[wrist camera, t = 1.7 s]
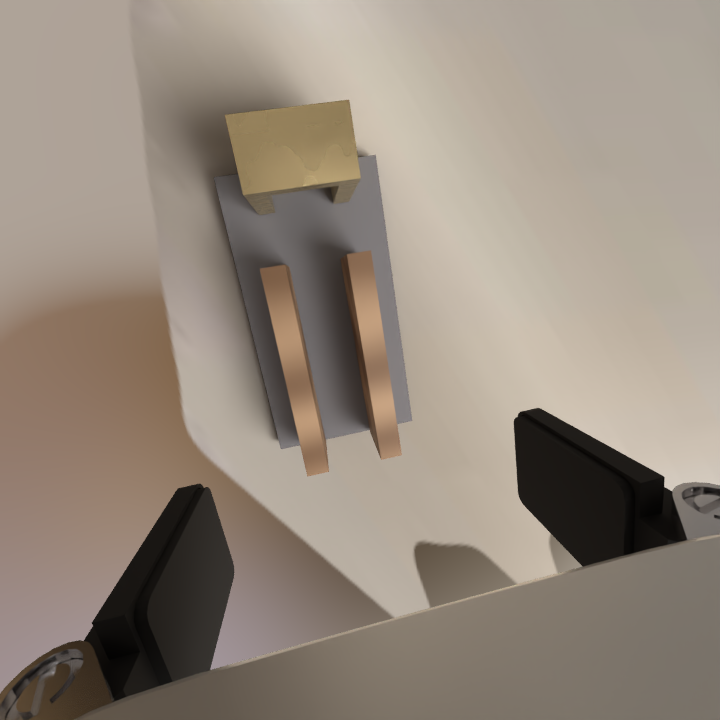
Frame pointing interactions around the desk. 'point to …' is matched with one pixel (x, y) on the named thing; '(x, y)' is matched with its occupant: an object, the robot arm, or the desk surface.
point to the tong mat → (316, 293)
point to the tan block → (295, 152)
